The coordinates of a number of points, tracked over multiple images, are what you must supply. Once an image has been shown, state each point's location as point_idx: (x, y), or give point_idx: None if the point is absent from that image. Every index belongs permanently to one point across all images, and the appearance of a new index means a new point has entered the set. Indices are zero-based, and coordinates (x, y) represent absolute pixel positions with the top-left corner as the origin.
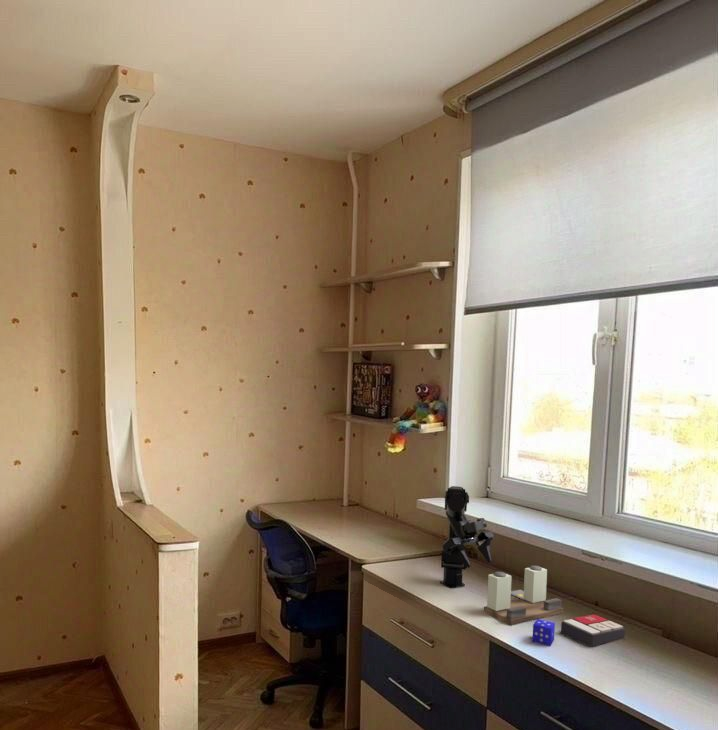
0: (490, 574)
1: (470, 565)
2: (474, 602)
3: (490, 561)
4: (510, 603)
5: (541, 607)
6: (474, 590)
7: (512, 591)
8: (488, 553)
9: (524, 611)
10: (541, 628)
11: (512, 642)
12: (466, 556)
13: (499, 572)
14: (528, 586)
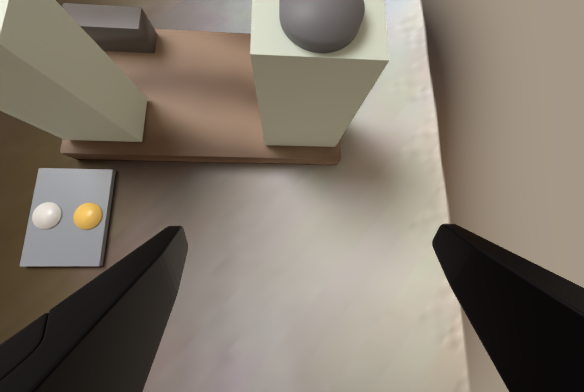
0: (371, 57)
1: (447, 225)
2: (305, 245)
3: (181, 229)
4: (221, 139)
5: (149, 64)
6: (206, 358)
7: (73, 263)
8: (120, 290)
9: None
10: None
11: None
12: (553, 289)
13: (310, 19)
14: (102, 84)
